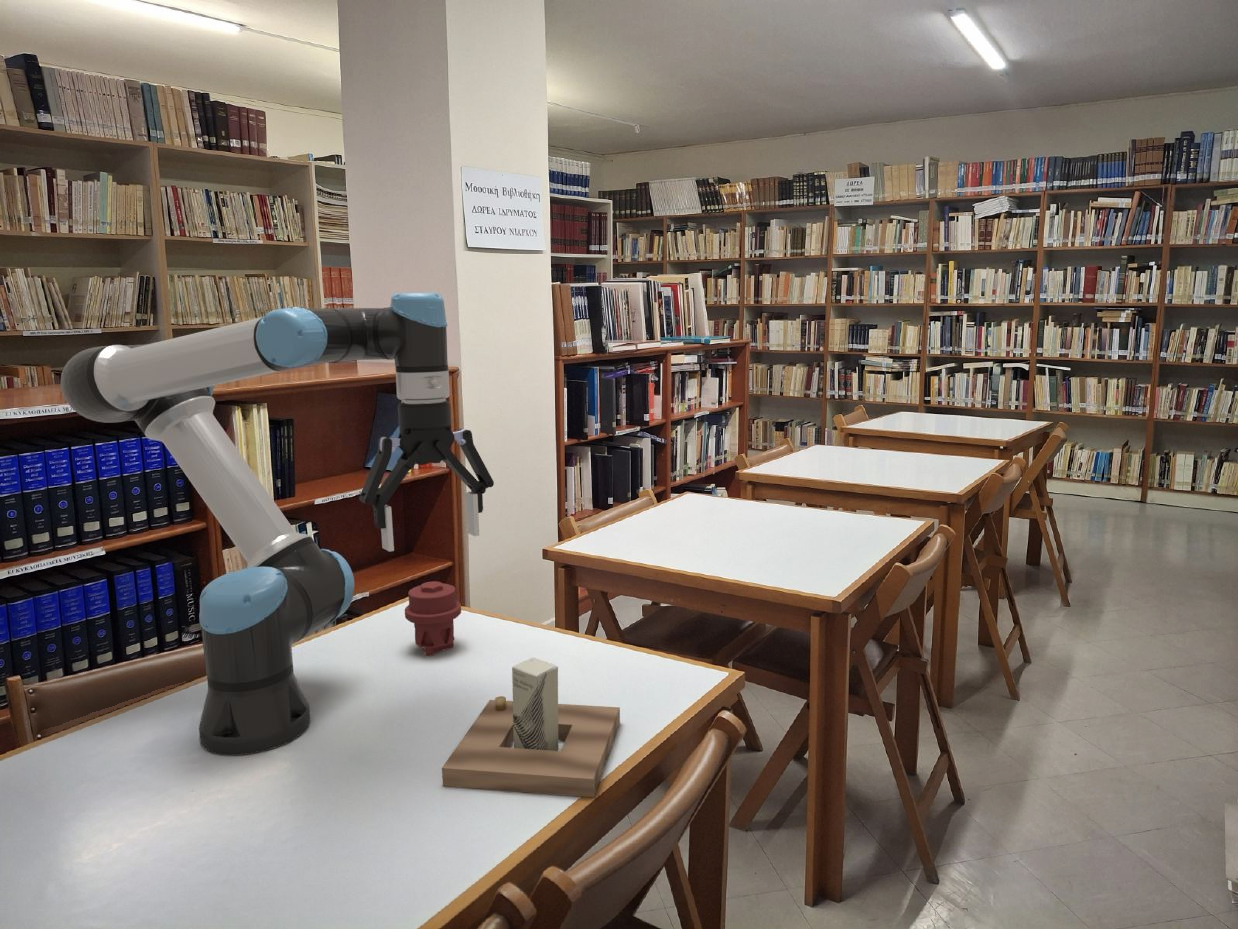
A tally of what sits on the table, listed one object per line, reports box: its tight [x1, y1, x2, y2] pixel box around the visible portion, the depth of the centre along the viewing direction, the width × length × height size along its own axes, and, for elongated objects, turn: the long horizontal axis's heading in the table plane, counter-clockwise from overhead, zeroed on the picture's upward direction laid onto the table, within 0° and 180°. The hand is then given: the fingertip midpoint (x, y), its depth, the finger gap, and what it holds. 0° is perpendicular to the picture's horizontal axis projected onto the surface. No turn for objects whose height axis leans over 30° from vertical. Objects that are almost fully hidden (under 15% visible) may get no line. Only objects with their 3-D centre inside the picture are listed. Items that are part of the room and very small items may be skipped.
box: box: [511, 657, 560, 751], centre depth 118 cm, size 5×4×13 cm
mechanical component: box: [404, 580, 462, 657], centre depth 156 cm, size 12×10×10 cm
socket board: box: [441, 695, 621, 798], centre depth 119 cm, size 20×20×4 cm
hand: (432, 541), depth 129 cm, fingers open, 13 cm apart
